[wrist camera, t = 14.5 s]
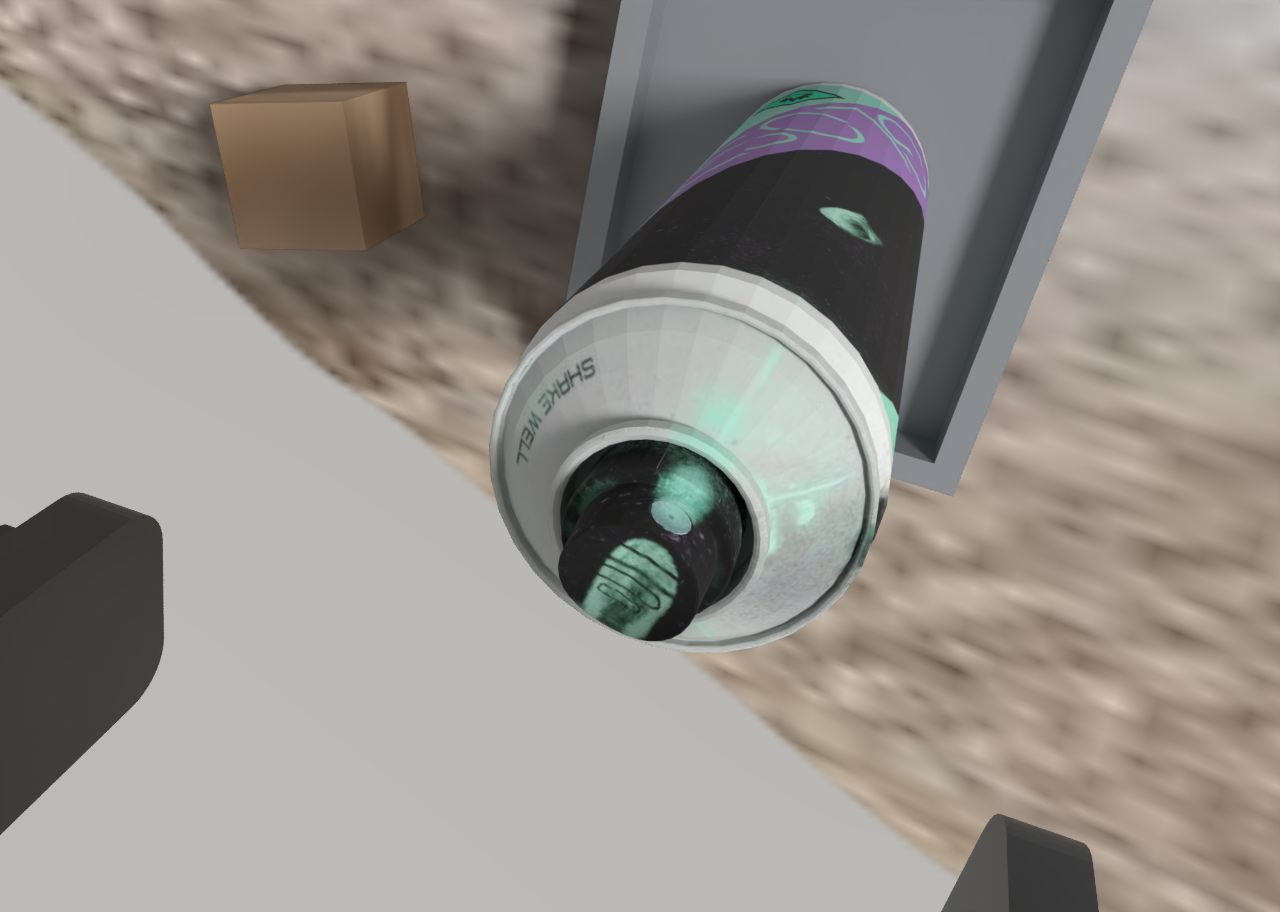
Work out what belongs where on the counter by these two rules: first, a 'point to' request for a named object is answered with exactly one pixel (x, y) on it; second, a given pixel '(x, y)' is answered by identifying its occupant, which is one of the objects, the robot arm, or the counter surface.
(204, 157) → the counter surface
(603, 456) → the spray can
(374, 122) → the walnut block
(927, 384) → the tray
